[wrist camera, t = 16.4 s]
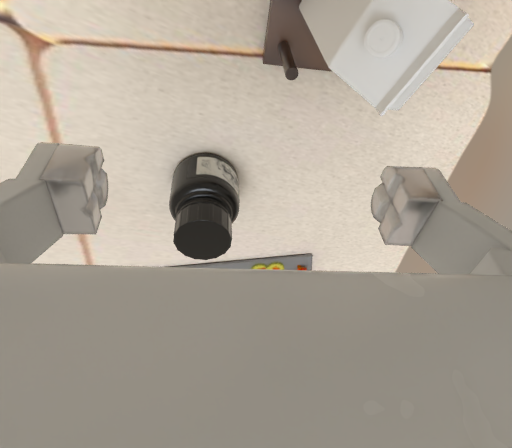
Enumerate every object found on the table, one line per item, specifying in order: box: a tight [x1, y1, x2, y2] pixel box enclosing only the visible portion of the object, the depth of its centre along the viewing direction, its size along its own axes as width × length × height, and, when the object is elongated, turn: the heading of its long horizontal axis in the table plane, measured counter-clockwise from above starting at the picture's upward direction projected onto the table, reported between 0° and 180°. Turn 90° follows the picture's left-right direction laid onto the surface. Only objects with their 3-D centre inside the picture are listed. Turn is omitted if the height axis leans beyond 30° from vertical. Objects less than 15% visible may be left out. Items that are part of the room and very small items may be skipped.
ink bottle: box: [169, 154, 239, 260], centre depth 49 cm, size 10×9×12 cm
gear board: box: [176, 254, 312, 270], centre depth 72 cm, size 45×2×19 cm
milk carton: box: [299, 0, 474, 116], centre depth 30 cm, size 7×7×19 cm
